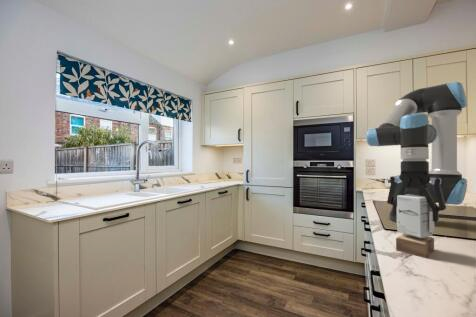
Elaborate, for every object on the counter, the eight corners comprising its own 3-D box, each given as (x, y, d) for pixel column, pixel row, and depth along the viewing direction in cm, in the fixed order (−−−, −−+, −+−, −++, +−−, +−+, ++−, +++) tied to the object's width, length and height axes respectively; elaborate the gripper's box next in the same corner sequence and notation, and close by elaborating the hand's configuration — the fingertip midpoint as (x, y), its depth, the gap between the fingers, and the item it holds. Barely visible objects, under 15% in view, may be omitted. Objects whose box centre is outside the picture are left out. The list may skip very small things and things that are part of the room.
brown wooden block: (405, 243, 83) (405, 231, 83) (434, 250, 77) (434, 237, 77) (396, 250, 77) (396, 237, 77) (426, 258, 71) (426, 244, 71)
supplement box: (396, 232, 79) (395, 195, 79) (409, 229, 82) (408, 193, 82) (421, 238, 72) (419, 198, 72) (434, 235, 75) (433, 196, 75)
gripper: (375, 160, 83) (376, 223, 83) (454, 160, 67) (455, 238, 67) (383, 160, 88) (383, 219, 88) (459, 160, 72) (460, 233, 71)
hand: (414, 227), depth 77 cm, fingers closed on supplement box, 8 cm apart
